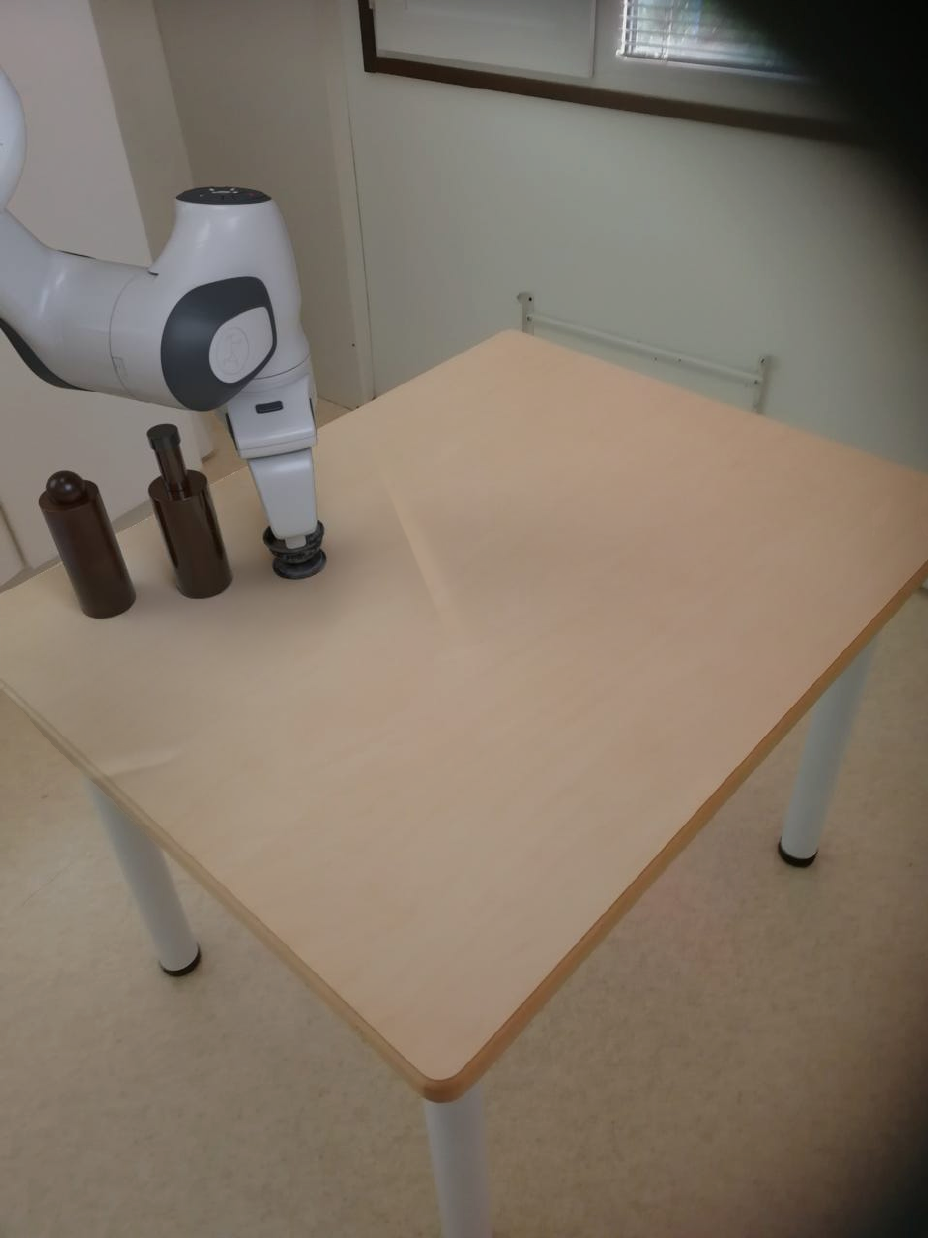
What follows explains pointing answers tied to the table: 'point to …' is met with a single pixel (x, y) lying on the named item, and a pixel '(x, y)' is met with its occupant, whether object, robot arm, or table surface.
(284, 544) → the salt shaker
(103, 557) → the pepper mill
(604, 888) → the table surface
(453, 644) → the table surface
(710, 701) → the table surface
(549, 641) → the table surface
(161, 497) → the vinegar bottle
